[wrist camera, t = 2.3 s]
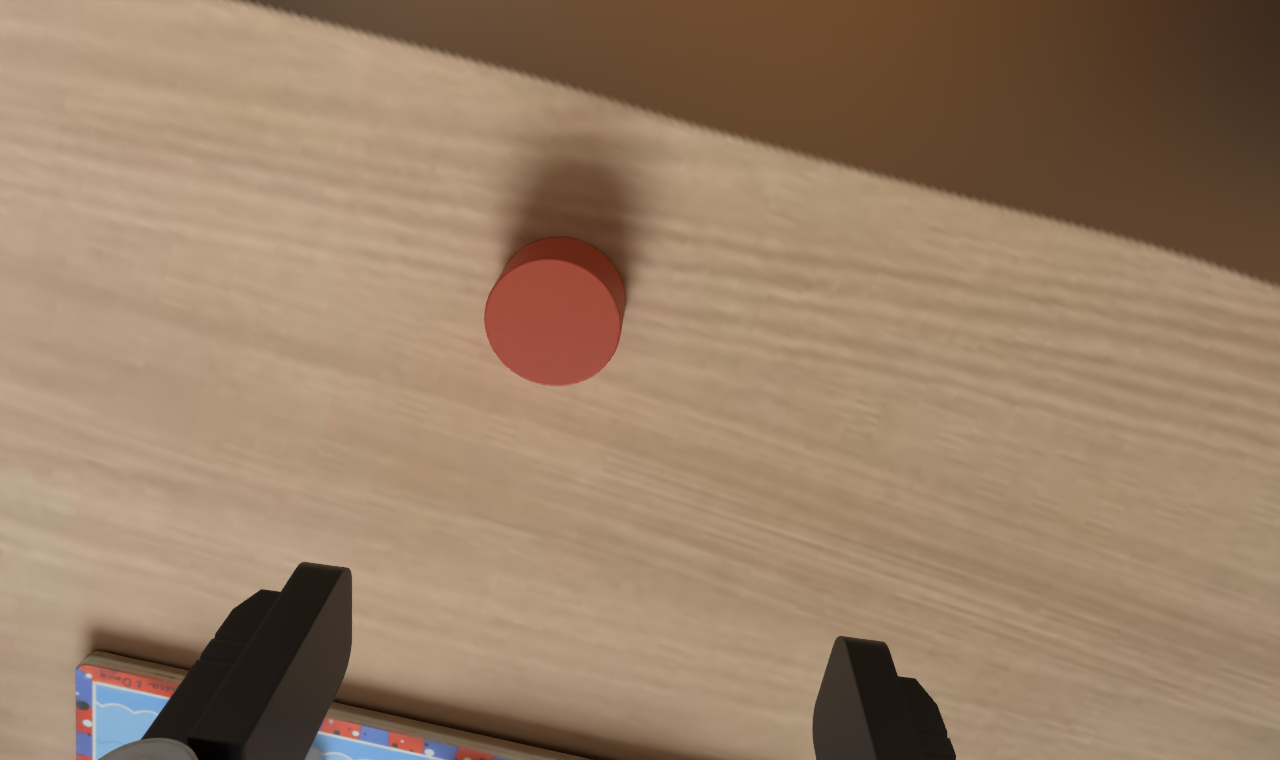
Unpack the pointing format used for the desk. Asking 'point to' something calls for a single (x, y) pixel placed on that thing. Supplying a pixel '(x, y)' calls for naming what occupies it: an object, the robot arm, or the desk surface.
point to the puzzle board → (339, 756)
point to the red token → (556, 312)
